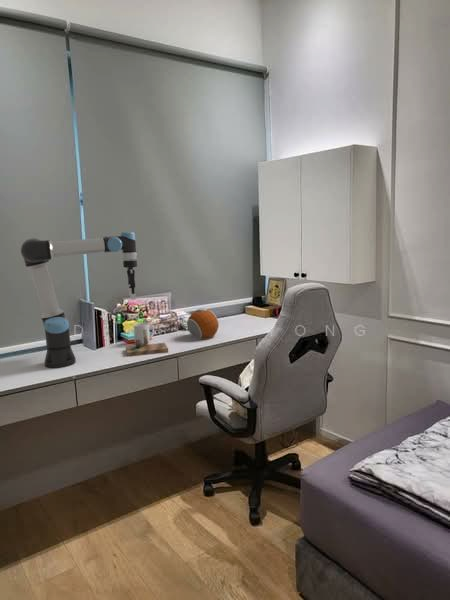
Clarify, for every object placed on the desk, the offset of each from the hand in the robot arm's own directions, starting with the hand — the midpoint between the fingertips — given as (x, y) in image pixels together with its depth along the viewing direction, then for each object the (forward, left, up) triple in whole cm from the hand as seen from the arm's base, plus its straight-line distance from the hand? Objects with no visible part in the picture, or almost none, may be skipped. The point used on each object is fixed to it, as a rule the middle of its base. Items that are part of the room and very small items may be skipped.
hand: (132, 297), depth 268 cm
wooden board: (+5, -11, -29) cm, 31 cm away
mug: (+6, +9, -29) cm, 31 cm away
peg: (+1, -10, -27) cm, 29 cm away
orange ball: (+42, +9, -29) cm, 52 cm away
